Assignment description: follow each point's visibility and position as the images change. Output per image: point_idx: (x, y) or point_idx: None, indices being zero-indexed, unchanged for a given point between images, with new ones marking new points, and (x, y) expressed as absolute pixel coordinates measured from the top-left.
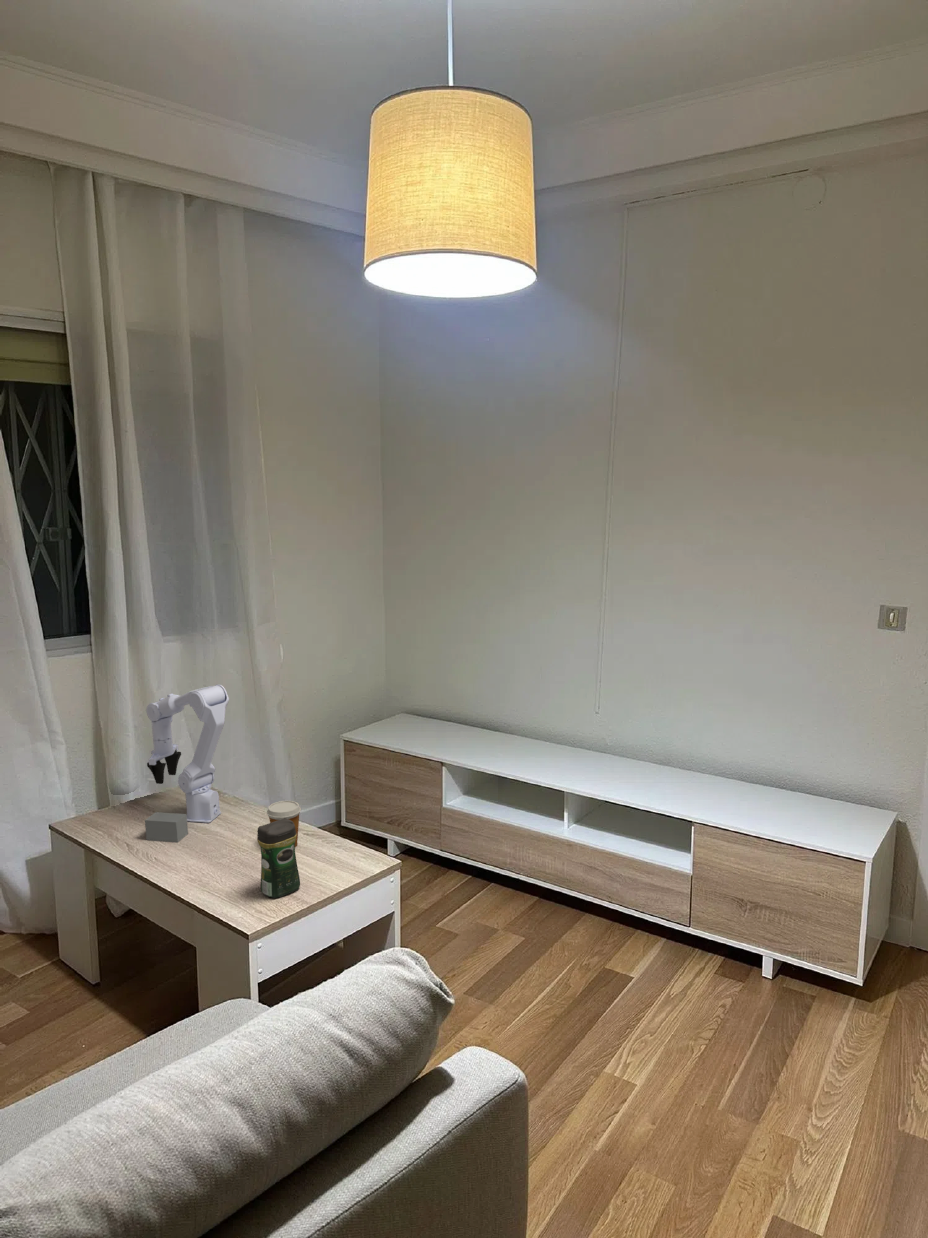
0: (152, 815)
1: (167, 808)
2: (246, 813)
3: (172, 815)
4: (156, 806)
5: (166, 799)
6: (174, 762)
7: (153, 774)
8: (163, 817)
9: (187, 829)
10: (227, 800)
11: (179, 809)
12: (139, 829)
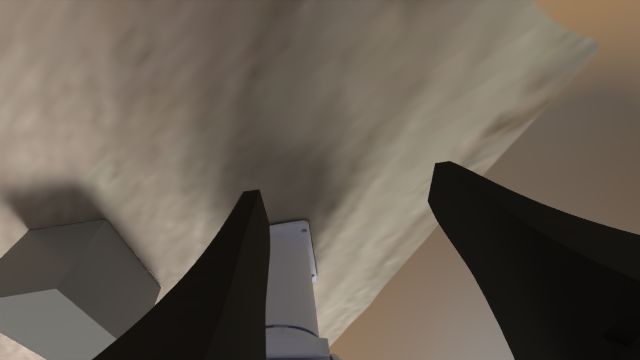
0: (17, 299)
1: (304, 114)
2: (331, 310)
3: (90, 339)
4: (311, 43)
5: (407, 34)
6: (493, 291)
7: (206, 257)
8: (48, 331)
9: (154, 302)
10: (407, 245)
11: (309, 165)
12: (63, 148)
